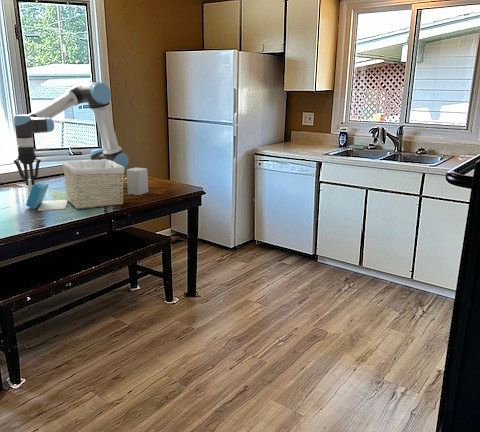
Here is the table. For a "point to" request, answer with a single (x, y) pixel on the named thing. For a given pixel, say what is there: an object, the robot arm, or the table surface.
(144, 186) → the supplement box
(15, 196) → the table surface
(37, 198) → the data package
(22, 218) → the table surface
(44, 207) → the white flat rectangular panel
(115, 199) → the basket
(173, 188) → the table surface
